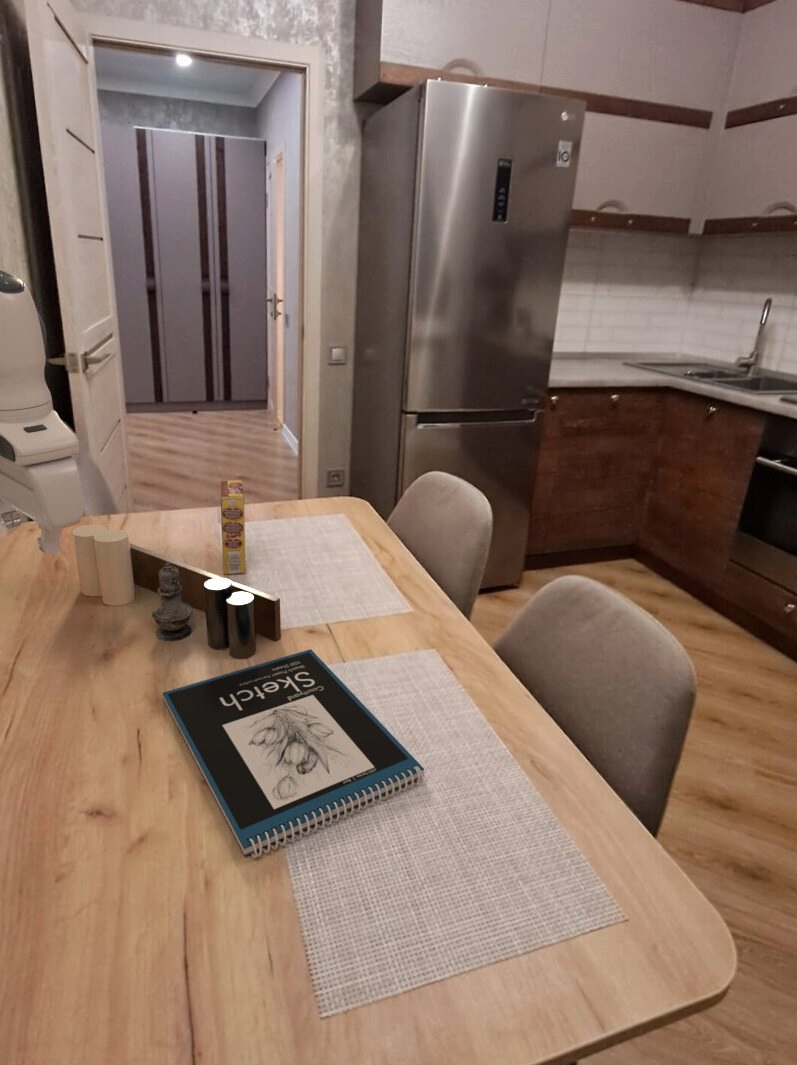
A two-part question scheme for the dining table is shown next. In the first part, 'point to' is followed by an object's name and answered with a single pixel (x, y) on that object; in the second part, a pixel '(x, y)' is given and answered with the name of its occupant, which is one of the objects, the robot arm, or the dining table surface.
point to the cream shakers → (104, 564)
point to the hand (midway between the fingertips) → (30, 538)
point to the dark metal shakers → (230, 618)
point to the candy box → (233, 527)
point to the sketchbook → (287, 748)
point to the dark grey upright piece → (171, 607)
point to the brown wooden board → (193, 588)
